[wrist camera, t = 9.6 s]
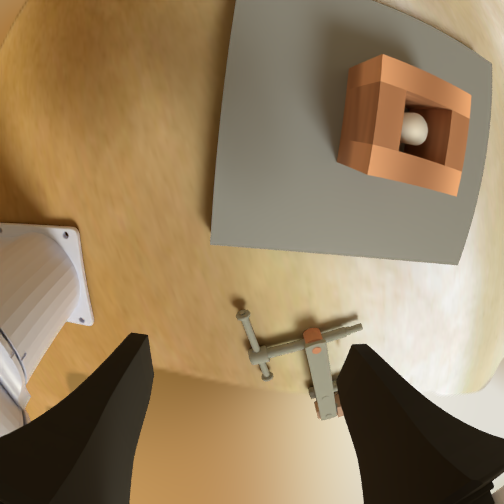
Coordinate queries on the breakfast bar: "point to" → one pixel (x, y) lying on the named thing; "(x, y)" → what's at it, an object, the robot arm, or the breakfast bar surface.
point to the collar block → (391, 120)
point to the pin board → (334, 135)
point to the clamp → (317, 360)
